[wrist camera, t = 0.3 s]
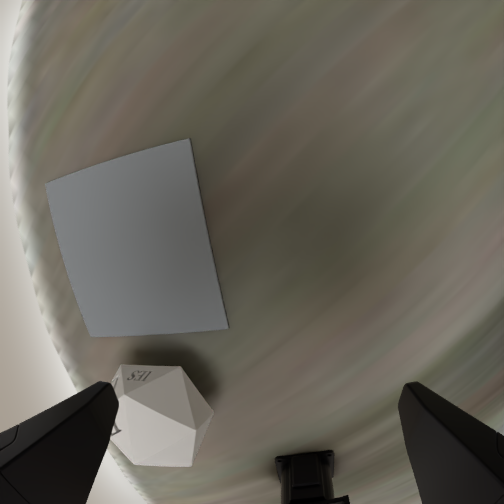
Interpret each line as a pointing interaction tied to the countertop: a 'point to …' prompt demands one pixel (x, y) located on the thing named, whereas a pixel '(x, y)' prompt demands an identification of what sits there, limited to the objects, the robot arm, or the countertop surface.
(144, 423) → the die
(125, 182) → the mat
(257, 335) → the countertop surface
